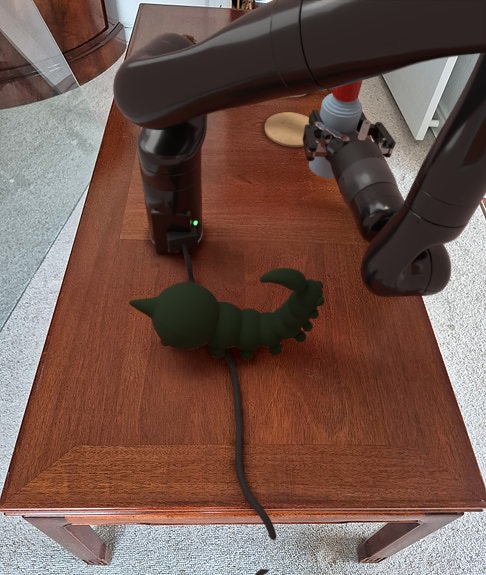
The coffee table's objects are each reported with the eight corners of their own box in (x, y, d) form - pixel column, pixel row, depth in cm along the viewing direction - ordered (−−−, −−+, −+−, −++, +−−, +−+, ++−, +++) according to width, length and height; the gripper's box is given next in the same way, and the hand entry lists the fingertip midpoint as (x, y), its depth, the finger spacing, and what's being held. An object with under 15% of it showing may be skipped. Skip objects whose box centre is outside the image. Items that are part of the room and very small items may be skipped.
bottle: (346, 179, 80) (374, 89, 67) (309, 177, 80) (330, 86, 67) (342, 156, 84) (368, 66, 71) (307, 154, 84) (326, 63, 70)
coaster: (320, 149, 99) (321, 146, 98) (264, 145, 98) (265, 143, 98) (316, 116, 106) (316, 113, 105) (264, 112, 105) (264, 110, 105)
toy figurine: (293, 324, 74) (136, 306, 71) (329, 247, 59) (131, 222, 56) (295, 378, 68) (125, 361, 66) (335, 309, 53) (116, 283, 51)
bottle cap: (359, 103, 70) (365, 81, 67) (333, 101, 70) (338, 79, 67) (356, 89, 72) (362, 67, 69) (330, 87, 72) (335, 65, 69)
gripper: (420, 156, 64) (381, 91, 74) (321, 161, 62) (295, 93, 72) (402, 197, 70) (368, 131, 80) (311, 202, 68) (288, 134, 78)
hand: (334, 113), depth 76 cm, fingers closed on bottle, 6 cm apart
